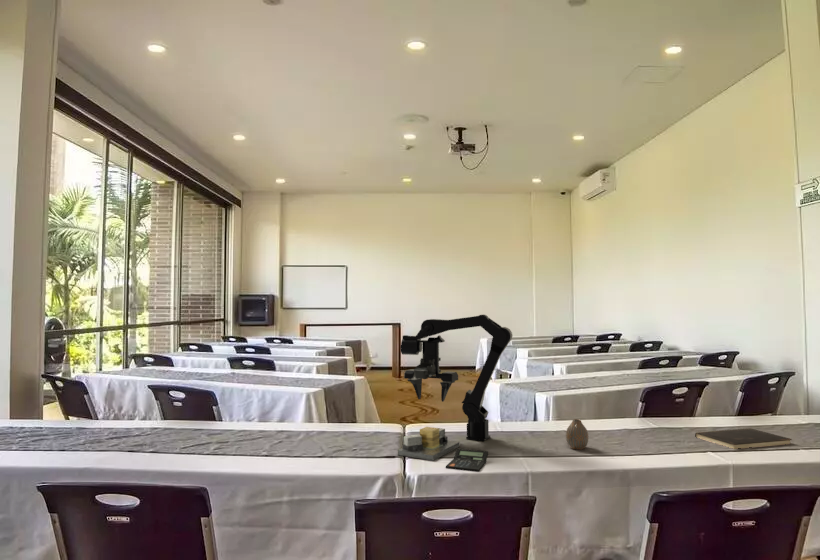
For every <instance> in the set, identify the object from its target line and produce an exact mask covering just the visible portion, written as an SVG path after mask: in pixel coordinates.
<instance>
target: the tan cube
mask: <svg viewBox="0 0 820 560" xmlns="http://www.w3.org/2000/svg"><path fill="white" fill-rule="evenodd" d="M439 428H440V427H431V426H425V427H423V428H420V429H419V435H420V436H422V444H423V446H424V447H430V448H433V447H435V446H437V445H439V438H440V435H439Z"/></svg>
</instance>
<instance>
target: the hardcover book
mask: <svg viewBox="0 0 820 560" xmlns="http://www.w3.org/2000/svg"><path fill="white" fill-rule="evenodd" d="M694 434H695V435H694V438H695V437H697V439H699V438H700V440H703V441H706V442H710V443H712V444H713V443H714V444H715V443H716V444H715V445H719V446H722V445H723V447H725V446H726V447H725V448H728V447H729V449H732V448H733V450H738V448H741V449H749V447H752V448H760V447H762V448H763V447H771V446H783V445H784V446H785V444H786V445H791V441H792V440H793V439H792V438H790V437H785V436H782V435H777V434H774V433H770V432H766V431H762V430H759V429H754V428H752V427H751V428H740V429H739V428H737V429H727V430H726V429H725V430H714V431H712V430H711V431H700V432H699V431H698V432H695V433H694Z"/></svg>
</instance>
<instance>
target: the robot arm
mask: <svg viewBox="0 0 820 560" xmlns="http://www.w3.org/2000/svg"><path fill="white" fill-rule="evenodd" d="M476 327H481V328H482V329H483V330H485V332H486V333H488V334H489V335H490V336H491V337H492V338H491V339H492V340H491V342H490V350H489V353H488V355H487V357H486V360H485V362H484V365H483V366H482V369H481V370H480V373H479V376H478V378H477V381H476V382H475V385H474V387H473V389H472V390H471V389H468V390H467V391H466V392H465V395H464V399H463V400H462V401H461V404H462V407H461V409H462V412H463V414H464V415H466V417H467V423H466V437H465V439H466V440H473V441H474V440H475V441H480V442H481V441H482V442H484V441H487V440H488V439H490V438H491V435H489V419H487V417H488V416H489V411H488V410H487V409H486V408H485V407H484V406H483V403H484V399H485V394H486V390H487V387H488V385H489V383H490V381H491V379H492V375H493V374H494V371H495V369H496V367H497V364H498V363H499V360H500V358H501V355H502V354H503V353H504V351H505V350H506V348H507V347H508V345H509V343H511V341H512V339H513V332H512V330H511V329H510V328H509V327H506V326H501V325H500V324H499V323H497V322H496V321H494V320H493V319H491V318H490V317H489V316H488V315H486V314H479V315H476V316H475V315H474V316H468V317H461V318H454V319H438V318H430V319H426V320H423V321H422V323H421V325H420V330H419V331H418V333H417V334H416V335H407V334H404V335H402V340H401V343H400V354H401V355H409V356H411V355H412V356H418V355H419V353H422V358H420V361H419V362H420V363H419V364H418V365H417V366H415V368H410V369H407V370H405V371H404V373H403V379H407V382H410V383H411V384H412V386H413V388H414V391H415V394H416V398H417V399H418V400H421V398H422V386H423V385H422V384H423V382H422V381H423V380H428V379H439V380H441V381H440V382H439V383H440V386H441V396H440V398H441V399H440V400H441V402H445V400H446V397H447V395H448V391H449V390H450V388H451V386H452V384H453V383H456V381H459V374H458V372H457V371H444V372H442V371H441V369H440V361H441V358H442V357H440V343H444V342H445V339H444V338H442V336H441V335H440V334H443V333H444V332H445V333H446V332H448V331H453V330H462V329H467V328H476ZM435 335H438V336H436V337H431V336H435Z"/></svg>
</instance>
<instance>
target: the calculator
mask: <svg viewBox="0 0 820 560" xmlns="http://www.w3.org/2000/svg"><path fill="white" fill-rule="evenodd" d="M488 455H489V451H487V450H477V449H467V448H465V449H464V448H456V449H455V452H454V456H453V459H452V460H450V461H449V463H447V464H446V465H445V469H450V470H459V471H460V470H461V471H468V472H480V471H481V470H482V469H483V467H485V465H486V464H487V463H486V462H487V459H488ZM484 464H485V465H484ZM480 469H481V470H480Z"/></svg>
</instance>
